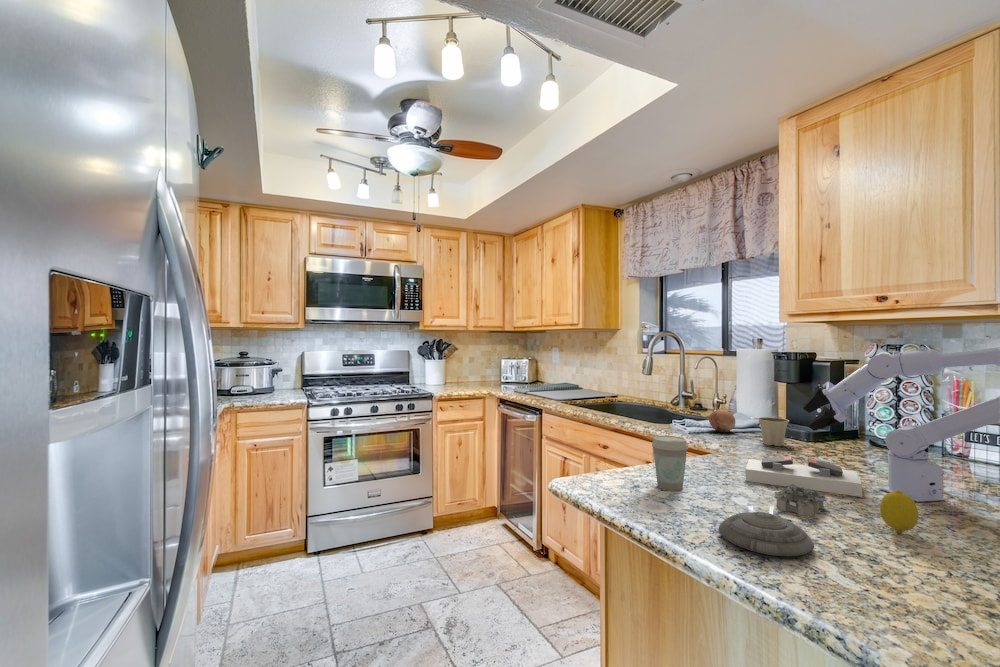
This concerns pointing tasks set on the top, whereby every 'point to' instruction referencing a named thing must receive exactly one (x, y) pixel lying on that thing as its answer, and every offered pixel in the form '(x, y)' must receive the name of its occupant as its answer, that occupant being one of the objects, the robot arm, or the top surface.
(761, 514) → the flying saucer
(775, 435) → the flower pot
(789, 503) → the grey stone ruin model
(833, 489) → the breaker panel
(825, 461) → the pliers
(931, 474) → the robot arm
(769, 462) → the breaker far
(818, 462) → the breaker near
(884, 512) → the lemon
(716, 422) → the onion
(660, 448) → the coffee cup
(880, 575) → the top surface
